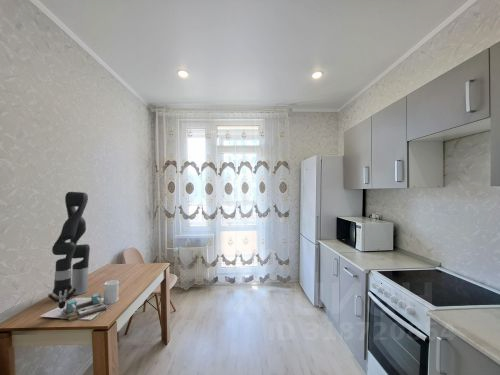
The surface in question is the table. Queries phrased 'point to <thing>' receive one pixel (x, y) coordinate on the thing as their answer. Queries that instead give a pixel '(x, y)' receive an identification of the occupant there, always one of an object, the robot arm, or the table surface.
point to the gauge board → (84, 310)
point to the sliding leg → (71, 306)
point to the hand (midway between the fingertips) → (61, 308)
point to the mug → (111, 292)
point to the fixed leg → (96, 299)
